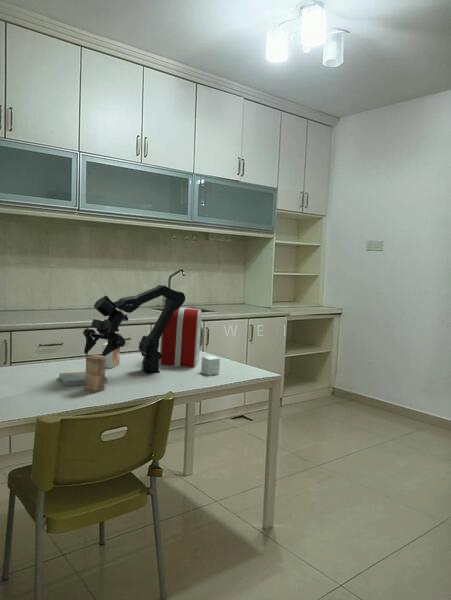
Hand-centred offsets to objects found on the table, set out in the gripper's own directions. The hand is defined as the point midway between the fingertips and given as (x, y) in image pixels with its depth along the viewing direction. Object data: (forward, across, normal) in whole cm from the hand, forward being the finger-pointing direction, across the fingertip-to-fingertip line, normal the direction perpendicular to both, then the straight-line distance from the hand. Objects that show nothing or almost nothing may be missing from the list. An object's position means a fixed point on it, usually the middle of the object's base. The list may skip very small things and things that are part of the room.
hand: (93, 354), depth 181 cm
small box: (-8, -13, +25) cm, 30 cm away
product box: (-22, +27, +42) cm, 55 cm away
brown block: (+13, +7, +3) cm, 15 cm away
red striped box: (-27, +6, +47) cm, 54 cm away
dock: (+8, -5, +7) cm, 12 cm away
